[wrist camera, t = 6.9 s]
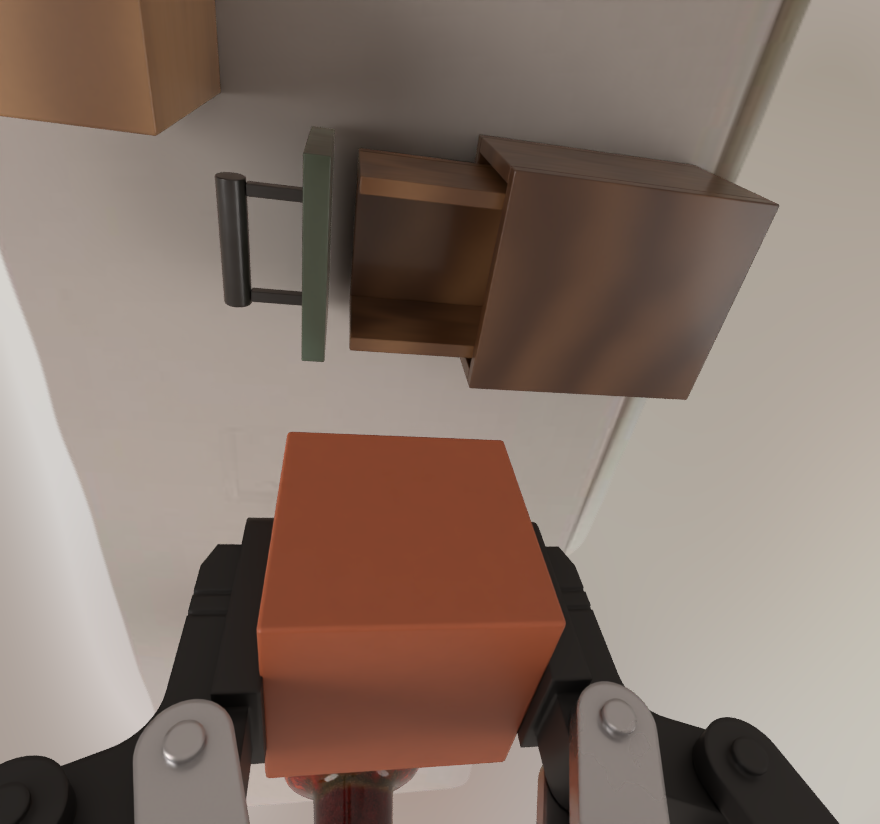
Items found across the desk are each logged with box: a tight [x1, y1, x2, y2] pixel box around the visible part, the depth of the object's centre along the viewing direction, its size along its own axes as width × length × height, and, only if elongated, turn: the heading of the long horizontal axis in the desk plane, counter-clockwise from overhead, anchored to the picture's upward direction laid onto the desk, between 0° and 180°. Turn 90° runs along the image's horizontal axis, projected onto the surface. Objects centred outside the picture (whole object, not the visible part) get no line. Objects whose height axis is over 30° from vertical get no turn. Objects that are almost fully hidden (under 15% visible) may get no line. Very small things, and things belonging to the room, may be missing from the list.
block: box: [257, 432, 566, 778], centre depth 11 cm, size 4×4×4 cm
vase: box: [285, 768, 418, 824], centre depth 48 cm, size 11×11×20 cm
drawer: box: [215, 126, 508, 362], centre depth 31 cm, size 17×10×7 cm, turn 82°
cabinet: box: [460, 135, 779, 400], centre depth 33 cm, size 14×12×9 cm
